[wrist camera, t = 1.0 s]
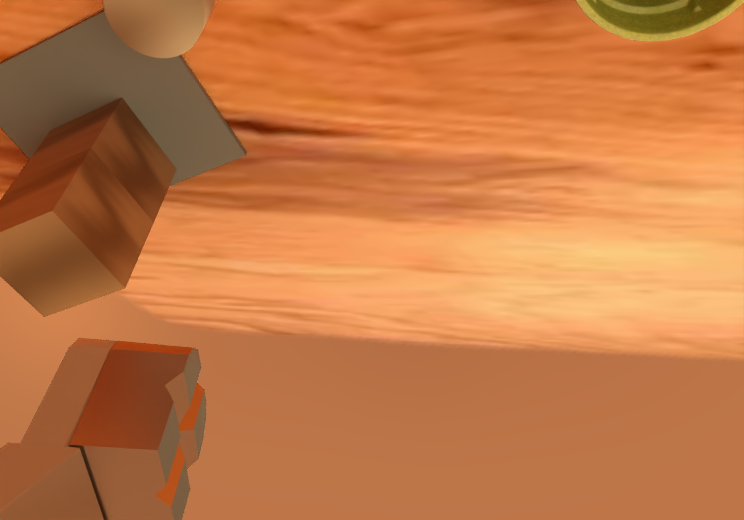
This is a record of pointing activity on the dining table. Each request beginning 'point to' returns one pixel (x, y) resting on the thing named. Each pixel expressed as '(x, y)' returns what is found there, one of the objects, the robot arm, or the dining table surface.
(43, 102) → the felt mat
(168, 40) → the birch round
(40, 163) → the tower base
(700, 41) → the dining table surface
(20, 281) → the tower top
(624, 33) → the plant pot
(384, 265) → the dining table surface
